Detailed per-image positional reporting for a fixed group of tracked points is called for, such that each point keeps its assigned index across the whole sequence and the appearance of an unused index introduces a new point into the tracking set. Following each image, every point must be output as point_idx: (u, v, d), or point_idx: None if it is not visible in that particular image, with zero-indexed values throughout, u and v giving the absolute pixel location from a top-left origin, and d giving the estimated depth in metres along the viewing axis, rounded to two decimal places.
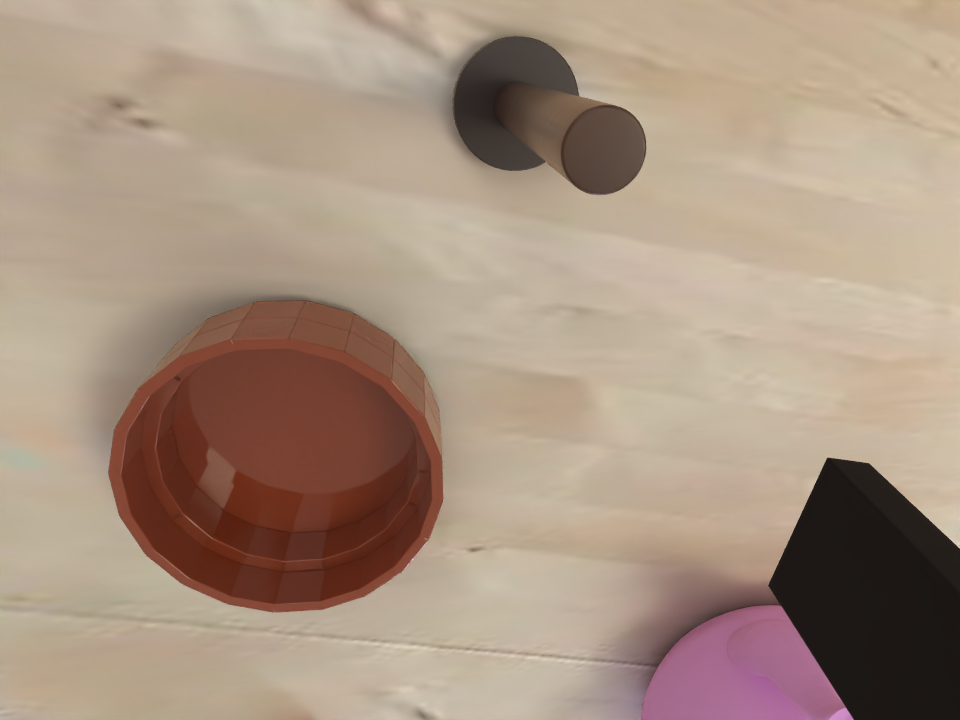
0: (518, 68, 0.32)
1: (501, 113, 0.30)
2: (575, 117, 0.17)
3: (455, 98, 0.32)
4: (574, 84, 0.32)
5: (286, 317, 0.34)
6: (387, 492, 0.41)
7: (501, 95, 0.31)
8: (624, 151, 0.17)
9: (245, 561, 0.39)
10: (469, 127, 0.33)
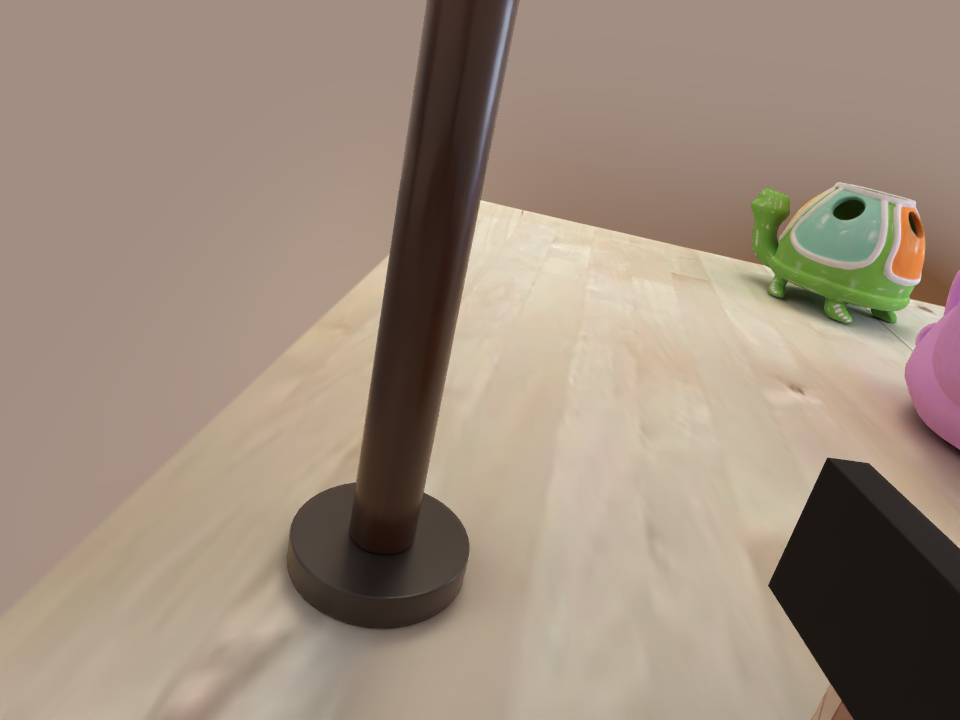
0: (333, 525, 0.23)
1: (395, 471, 0.21)
2: None
3: (359, 594, 0.20)
4: None
5: None
6: None
7: (368, 504, 0.21)
8: None
9: None
10: (404, 584, 0.21)
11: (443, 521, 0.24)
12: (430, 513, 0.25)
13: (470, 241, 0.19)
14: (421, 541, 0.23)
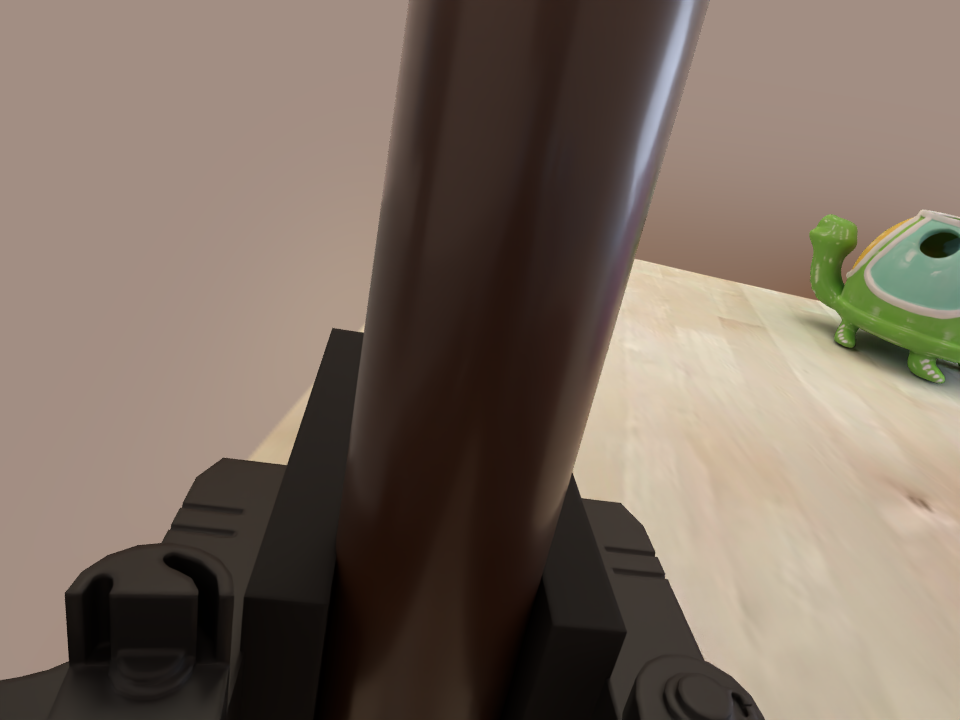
0: None
1: None
2: None
3: None
4: None
5: None
6: None
7: None
8: None
9: None
10: None
11: None
12: None
13: (545, 563, 0.07)
14: None
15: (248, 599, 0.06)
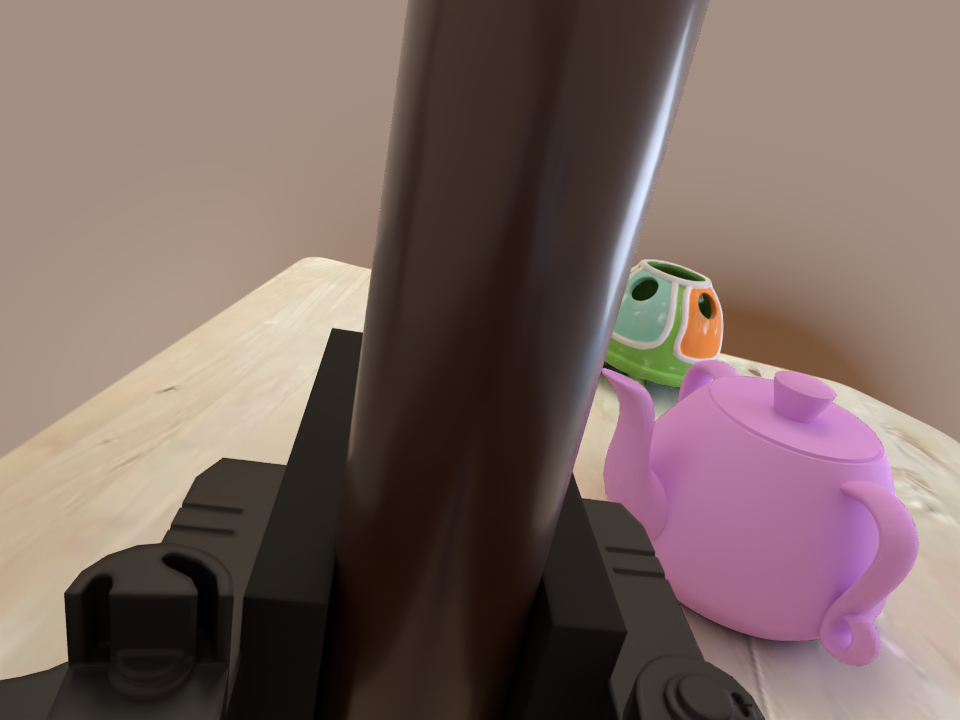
0: None
1: None
2: None
3: None
4: None
5: None
6: None
7: None
8: None
9: None
10: None
11: None
12: None
13: (544, 563, 0.07)
14: None
15: (247, 599, 0.06)
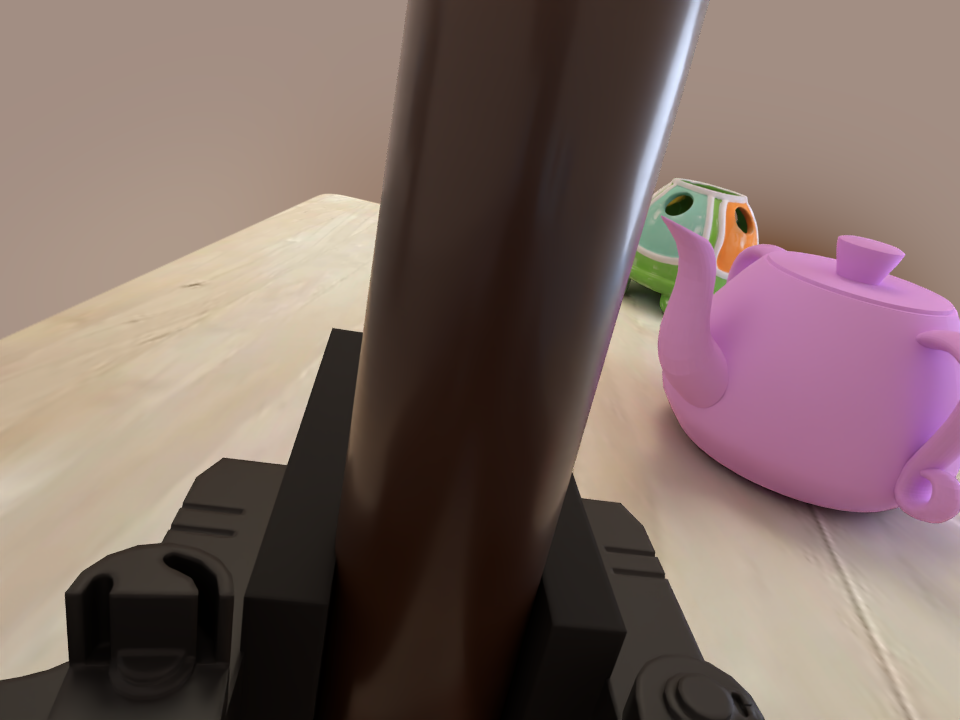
0: None
1: None
2: None
3: None
4: None
5: None
6: None
7: None
8: None
9: None
10: None
11: None
12: None
13: (544, 564, 0.07)
14: None
15: (247, 599, 0.06)
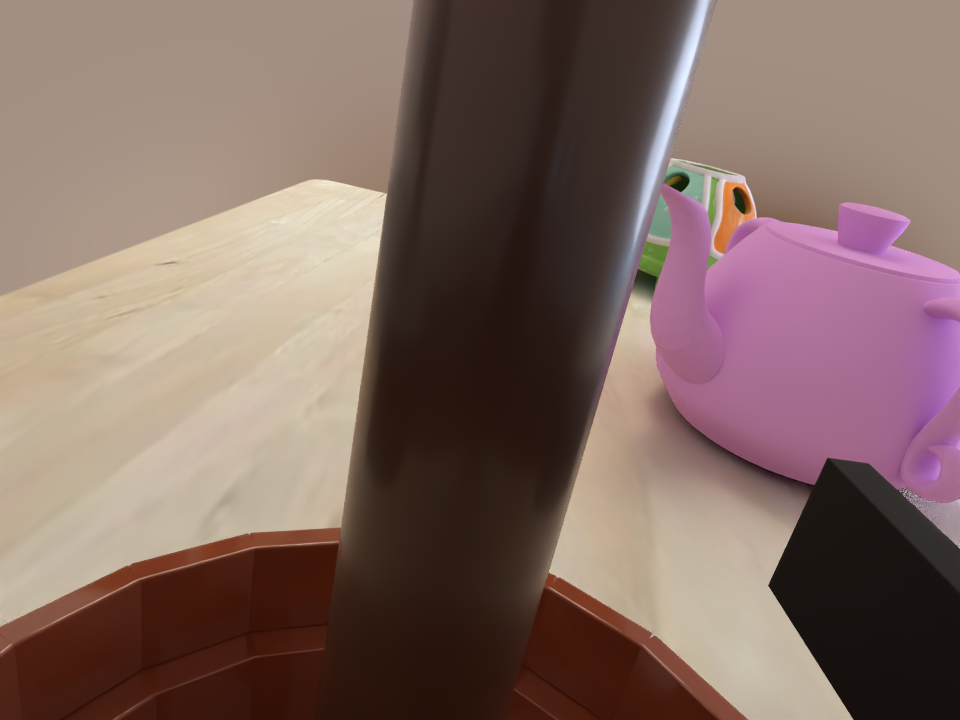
0: None
1: None
2: None
3: None
4: None
5: None
6: None
7: None
8: None
9: None
10: None
11: None
12: None
13: (547, 572, 0.07)
14: None
15: None
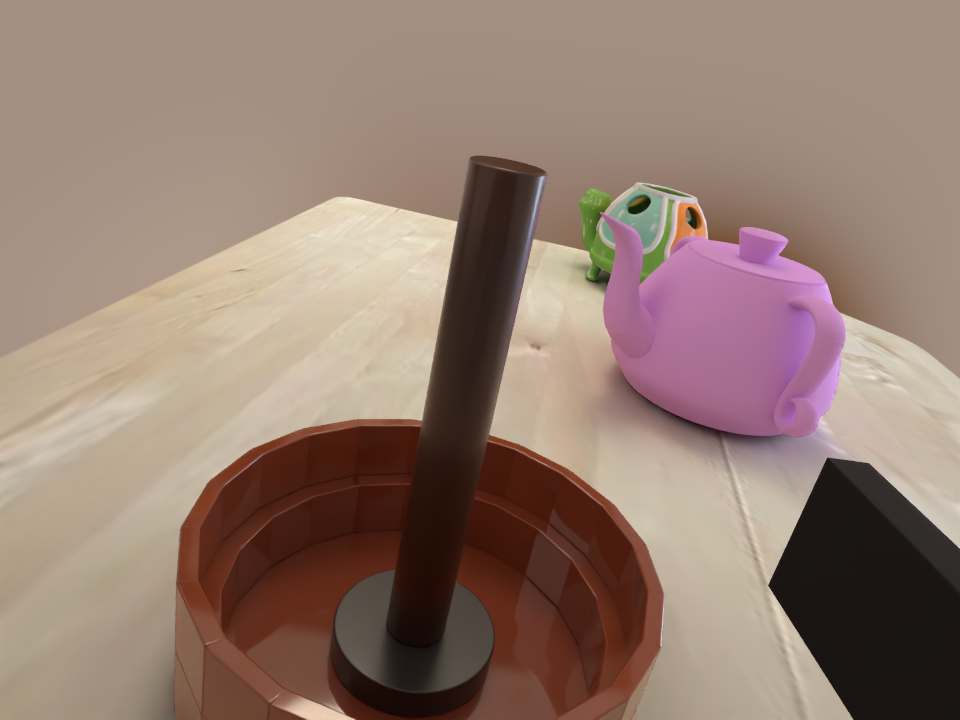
0: (371, 617, 0.25)
1: (430, 576, 0.23)
2: (479, 168, 0.18)
3: (399, 689, 0.23)
4: None
5: None
6: (510, 573, 0.31)
7: (405, 604, 0.24)
8: (507, 161, 0.19)
9: None
10: (438, 677, 0.23)
11: (470, 608, 0.27)
12: (458, 600, 0.27)
13: (500, 382, 0.21)
14: (451, 631, 0.25)
15: None
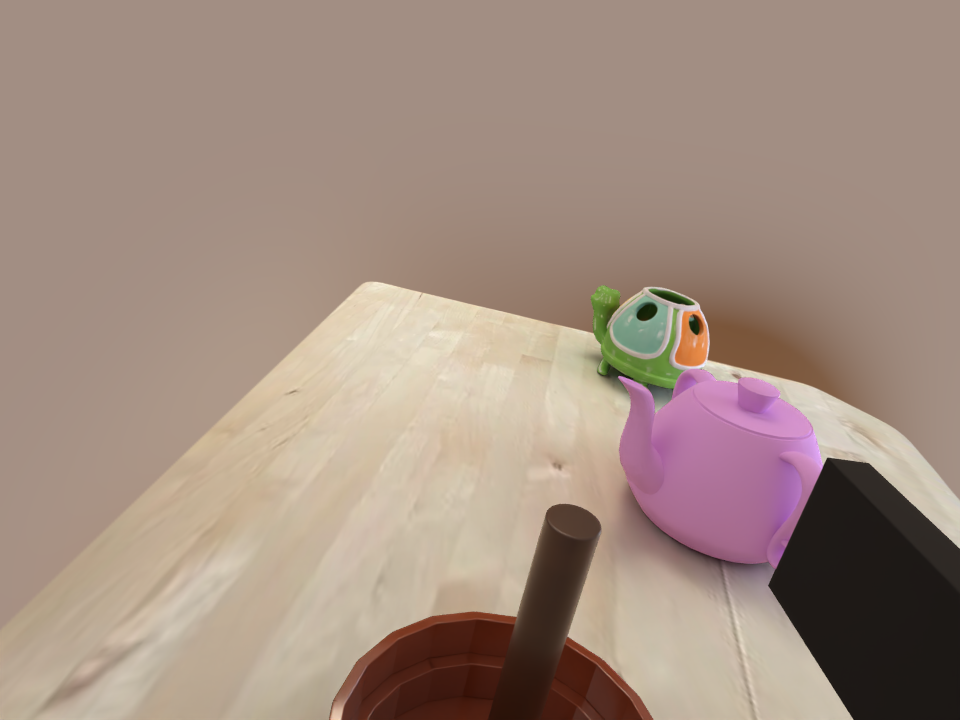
0: None
1: None
2: (555, 533, 0.26)
3: None
4: None
5: None
6: None
7: None
8: (572, 512, 0.27)
9: None
10: None
11: None
12: None
13: (561, 652, 0.29)
14: None
15: None
